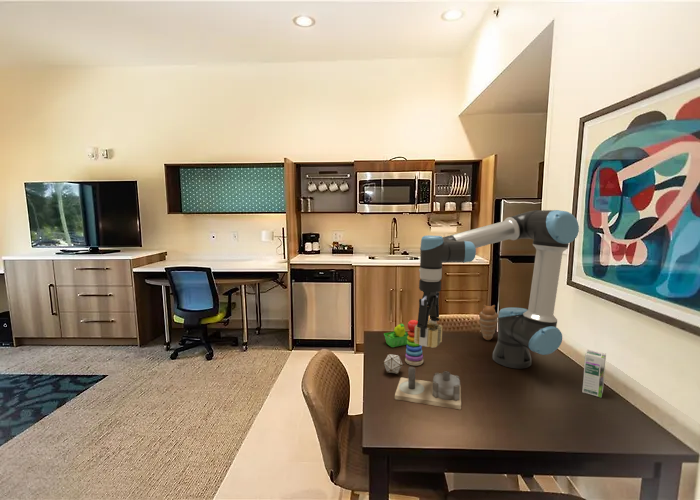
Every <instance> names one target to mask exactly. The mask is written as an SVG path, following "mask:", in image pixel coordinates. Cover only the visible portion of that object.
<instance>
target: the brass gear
mask: <svg viewBox="0 0 700 500" xmlns="http://www.w3.org/2000/svg"><path fill="white" fill-rule="evenodd" d="M427 328H428V343H427V347H426V348H429V347H430V348H432V349H433V348H437V347H438V346H439V345H441V343H443V341H442V340H443V325H442V324H438V323H437V324H434V323H429V321H428V324H427ZM419 337H420V328H419V327H417V325H416V326H415V334H414V342H415V343H416V344H419Z"/></svg>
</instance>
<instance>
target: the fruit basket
mask: <svg viewBox="0 0 700 500" xmlns="http://www.w3.org/2000/svg"><path fill="white" fill-rule="evenodd" d="M383 335H384V339H385V342H386V344H387V345H388V346H389V347H391V348H395V347H396V348H397V347H402V346H405V345H406V346H407V340H408V339H407V337H408V336H409V335H408V331H406V328H405V325H404V324H403V323H399V324H397V326H395V327H394V328H393V331H390V332H385V333H383Z"/></svg>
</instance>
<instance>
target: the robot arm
mask: <svg viewBox="0 0 700 500" xmlns="http://www.w3.org/2000/svg"><path fill="white" fill-rule="evenodd" d="M579 232H580V226H579V222H578V219H577V218H576V217H575V215H574V214H573V213H571V212H569V211H565V210H558V209H554V210H553V209H552V210H551V209H549V210H548V209H547V210H546V209H544V210H543V209H542V210H540V209H536V210H535V209H534V210H529V211H525V212H523V213H518V214H515V215H512V216H508V217H506V218H505V219H504V220H502V221H500V222H499V221H498V222H496V223H492V224H488V225H484V226H480V227H477V228H473V229H469V230H465V231H462V232H458V233H455V234H451V235H446V236H441V235H424V236H422V237H421V240H420V248H419V249H420V258H419V259H420V261H419V263H420V264H419V269H418V273H419V278H420V279H419V285H418V286H419V287H418V289H419V291H421V292H423V295H422V297H421V298H419V300H418V314H417V321H418V323H417V327H419V328H420V337H419V345H421V346H422V347H426V348H428V347H427V343H428V328H427V324H428V322H429V323H434V324H438V322H439V321H440V318H439V317H440V302H439V301H440V299H439V298H440V292H441V290H442V281H441V280H442V277H443V276H442V275H443V263H444V264H446V263H463V264H464V263H471V262H473V261H474V260H475V258H476V255H477V254H476V252H477V249H478V248H482V247H485V246H488V245H492V244H495V243H500V242H503V241H507V240H511V241H516V240H520V239H521V240H522V239H524V240H525V239H527V240H528V239H529V240H532V246H533V247H534V248H535V256H534V264H533V271H532V272H533V273H532V278H531V286H530V295H529V300H528V307H527V308H528V309H527V308H523V307H504V308H501V309H500V310H499V312H498V318H497V320H498V322H497V324H498V326H497V329H498V330H497V342H496V344H495V347H494V349H493V351H492V360H493V362H495V363H497V364H498V365H501V366H503V367H506V368H511V369H527V368H530V367H531V366H532V356H531V351H532V352H533V353H537V354H539V355H542V356H543V355H544V356H547V355H551V354H553V353H554V352H555V351H557V350H558V349H559V348H560V347H561V345H562V341H563V332H562V331H561V330H560V329H559V328H558V327H557V326H558V319H557V318H556V316H554V314H555V305H556V300H557V299H556V298H557V294H558V293H557V292H558V285H559V280H560V279H559V278H560V271H561V265H562V259H563V253H564V252H565V251H566V250H568V249H569V244H571V243H573V242H574V241H575V239H577V238H578V236H579V235H578V234H579Z"/></svg>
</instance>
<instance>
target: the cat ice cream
mask: <svg viewBox="0 0 700 500" xmlns="http://www.w3.org/2000/svg"><path fill="white" fill-rule="evenodd" d="M495 307H496V305H495V304H493V305H486V304H485V303H484V304H483V308H482V310H481V311H480V312H479V313H478V317H479V320H478V322H479V324H480V326H479V327H480V329H481V330H480V331H481V335H482V337H483V339H484V340H486V341H491V339H493V337H494V334H495V333H496V329H497V328H498V326H497V324H498V319H499V318H498V317H499V313H497V312H496V309H495Z"/></svg>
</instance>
